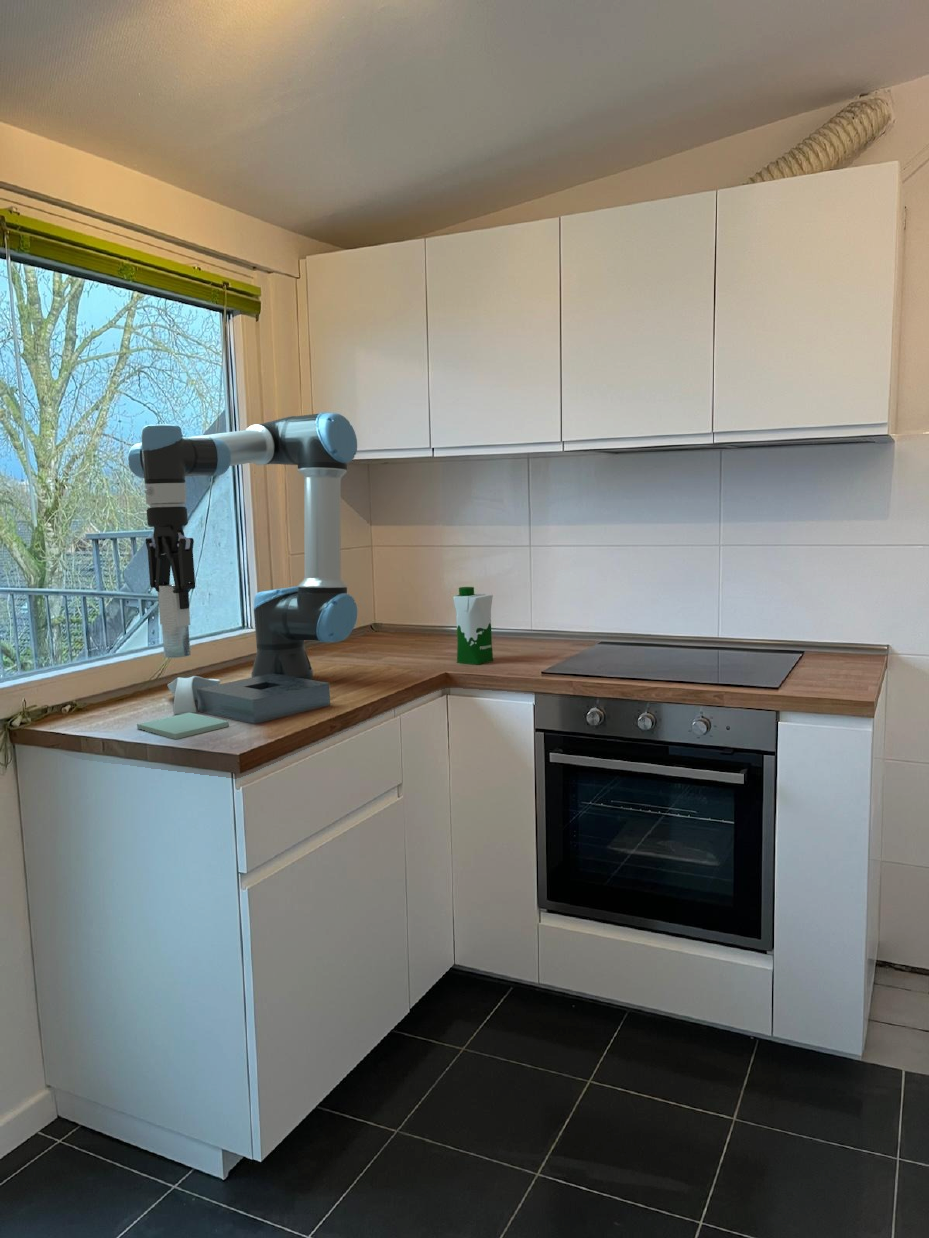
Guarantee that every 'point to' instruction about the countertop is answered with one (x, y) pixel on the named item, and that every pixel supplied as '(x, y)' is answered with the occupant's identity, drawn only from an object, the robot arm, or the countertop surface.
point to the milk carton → (473, 627)
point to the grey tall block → (172, 626)
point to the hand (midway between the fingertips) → (175, 624)
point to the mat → (183, 725)
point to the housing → (263, 698)
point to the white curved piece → (188, 692)
